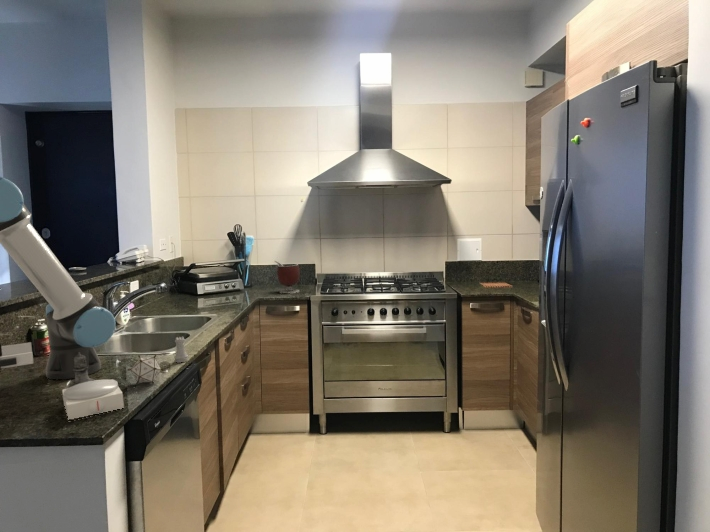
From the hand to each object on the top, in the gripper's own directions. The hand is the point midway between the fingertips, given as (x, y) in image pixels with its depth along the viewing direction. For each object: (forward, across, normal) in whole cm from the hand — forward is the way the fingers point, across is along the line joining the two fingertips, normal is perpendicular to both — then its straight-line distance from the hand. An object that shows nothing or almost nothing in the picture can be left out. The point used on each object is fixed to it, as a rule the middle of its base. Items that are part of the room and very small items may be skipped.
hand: (32, 352), depth 126 cm
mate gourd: (+137, -125, -11) cm, 186 cm away
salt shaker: (+11, 0, -14) cm, 18 cm away
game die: (+27, +2, -14) cm, 30 cm away
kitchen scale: (+12, +12, -14) cm, 21 cm away
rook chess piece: (+41, -14, -13) cm, 45 cm away
